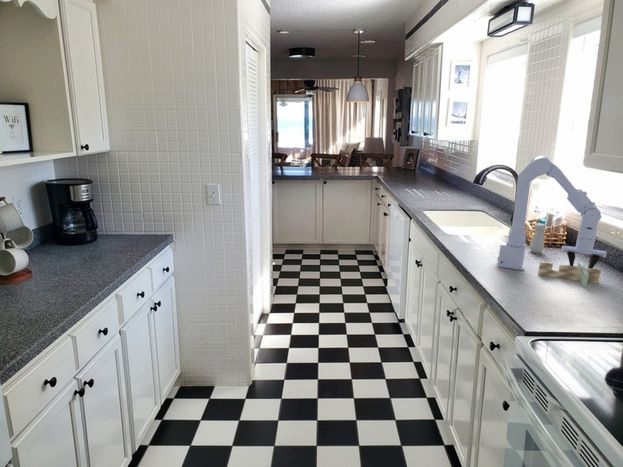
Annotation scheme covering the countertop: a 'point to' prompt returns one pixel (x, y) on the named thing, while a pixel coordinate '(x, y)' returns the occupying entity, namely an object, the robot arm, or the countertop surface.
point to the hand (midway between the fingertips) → (579, 272)
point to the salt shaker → (537, 239)
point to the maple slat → (568, 272)
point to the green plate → (583, 274)
